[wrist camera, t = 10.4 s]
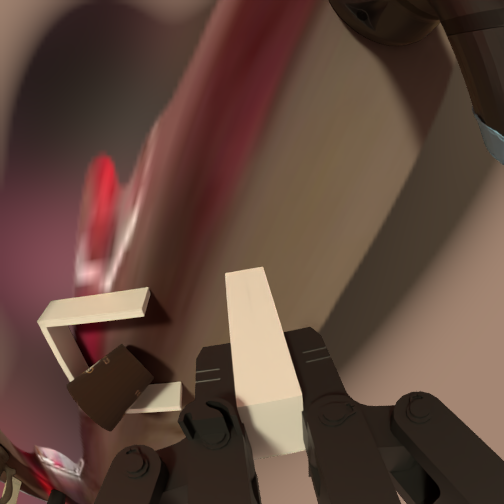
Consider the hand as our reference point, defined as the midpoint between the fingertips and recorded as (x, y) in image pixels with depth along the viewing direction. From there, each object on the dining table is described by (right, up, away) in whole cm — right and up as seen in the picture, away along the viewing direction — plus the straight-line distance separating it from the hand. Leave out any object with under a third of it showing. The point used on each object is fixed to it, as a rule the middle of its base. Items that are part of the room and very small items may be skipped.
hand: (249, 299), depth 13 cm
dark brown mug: (-16, -13, +28) cm, 35 cm away
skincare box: (-78, -73, +48) cm, 117 cm away
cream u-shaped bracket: (-19, -12, +29) cm, 36 cm away
